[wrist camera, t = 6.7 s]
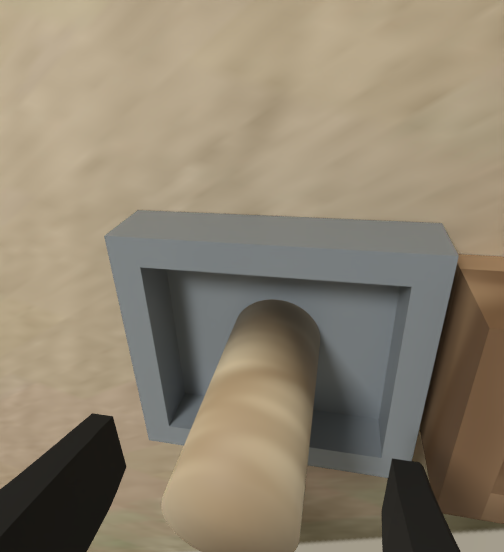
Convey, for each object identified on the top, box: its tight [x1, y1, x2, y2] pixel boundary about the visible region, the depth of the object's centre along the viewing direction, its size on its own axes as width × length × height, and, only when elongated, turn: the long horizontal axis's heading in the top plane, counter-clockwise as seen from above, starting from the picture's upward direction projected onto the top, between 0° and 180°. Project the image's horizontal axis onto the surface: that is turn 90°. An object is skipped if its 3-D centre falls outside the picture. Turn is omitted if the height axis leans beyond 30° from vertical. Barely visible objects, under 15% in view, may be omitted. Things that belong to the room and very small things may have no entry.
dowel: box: [161, 299, 320, 552], centre depth 12 cm, size 3×3×7 cm
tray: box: [104, 210, 459, 478], centre depth 15 cm, size 10×9×2 cm
